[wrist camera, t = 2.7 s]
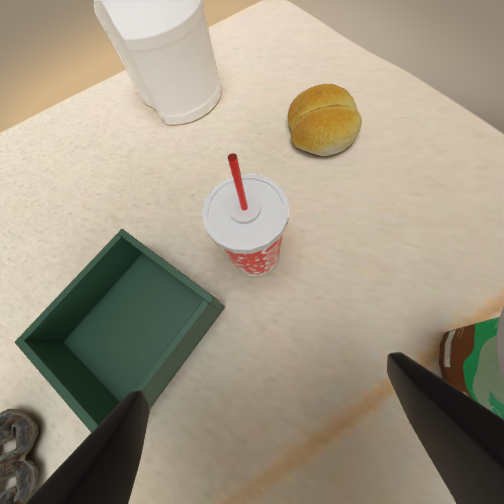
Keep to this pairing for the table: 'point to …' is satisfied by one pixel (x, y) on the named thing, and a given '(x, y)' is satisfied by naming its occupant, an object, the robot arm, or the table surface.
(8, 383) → the table surface
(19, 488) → the corroded twin loop
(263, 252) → the beverage cup
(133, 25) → the jar
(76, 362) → the square green tray
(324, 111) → the bread roll
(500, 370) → the food container
